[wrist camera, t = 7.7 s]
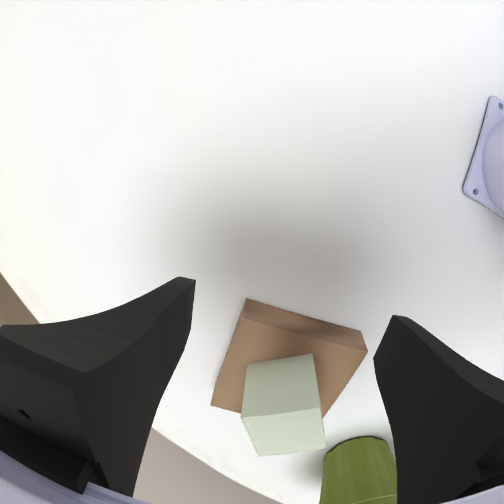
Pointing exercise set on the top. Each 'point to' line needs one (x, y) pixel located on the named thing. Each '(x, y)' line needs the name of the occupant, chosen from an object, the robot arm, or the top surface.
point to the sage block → (283, 406)
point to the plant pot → (359, 473)
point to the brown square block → (287, 352)
